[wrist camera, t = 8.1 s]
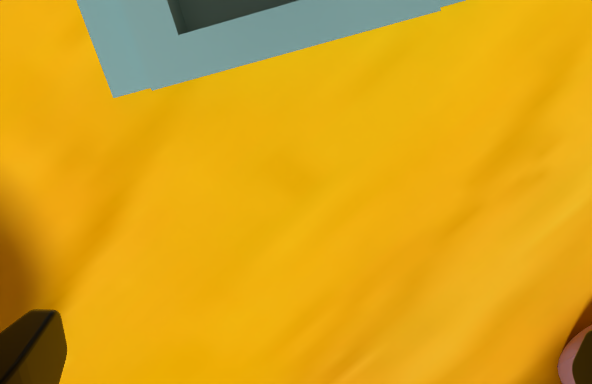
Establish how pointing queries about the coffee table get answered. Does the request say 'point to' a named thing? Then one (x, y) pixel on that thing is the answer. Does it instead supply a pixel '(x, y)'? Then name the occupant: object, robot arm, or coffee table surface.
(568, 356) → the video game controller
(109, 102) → the coffee table surface
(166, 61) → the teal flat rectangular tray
